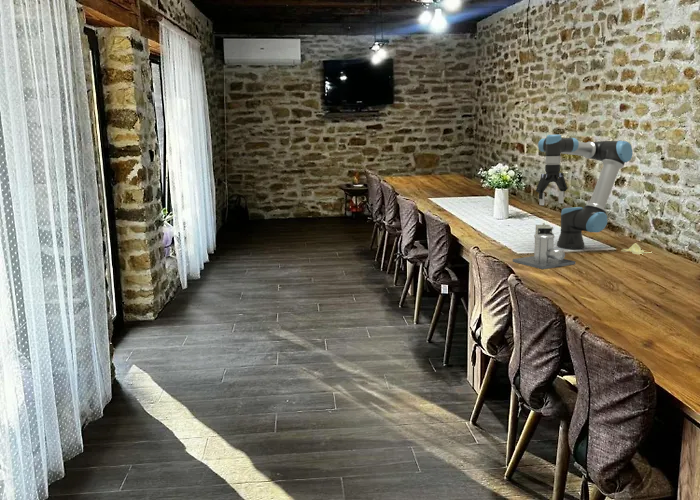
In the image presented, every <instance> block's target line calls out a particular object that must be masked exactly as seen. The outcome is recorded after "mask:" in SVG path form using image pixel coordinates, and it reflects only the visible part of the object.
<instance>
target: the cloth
mask: <svg viewBox="0 0 700 500" xmlns="http://www.w3.org/2000/svg"><path fill="white" fill-rule="evenodd" d="M641 249H642V247H640V245H639V244H637V242H636V243H633V244H632V245H631V246H630V247H628V248H622V251H625V252H630V253H631V252H632V254H634V255H640V254H642V255H641V256H644V255H643V254H647V253H652V252H653V251H651V252H644V251H645V249H642V250H641ZM652 254H653V253H652Z"/></svg>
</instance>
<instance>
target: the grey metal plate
mask: <svg viewBox="0 0 700 500" xmlns="http://www.w3.org/2000/svg"><path fill="white" fill-rule="evenodd" d="M512 262H513V263H516V264H519V263H520V265H524V266H527V267H532V268H535V269H539V270H546V269H555V268H560V267H566V266H572V265H574V266H575V265H576V261H575V260H571V259H566V258H564V259H563V260H557V259H553V261H551V262H538V261H535V260H534V255H531V256H523V257H518V258H517V257H516V258H513V259H512Z"/></svg>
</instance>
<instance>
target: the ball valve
mask: <svg viewBox="0 0 700 500" xmlns="http://www.w3.org/2000/svg"><path fill="white" fill-rule="evenodd" d="M554 228H555V227H553V226H551V225H550V224H545V223H542V224H536V225H535V234H552V235H554V236H555V234H554V233H553V230H554ZM554 243H555V242H553V244H554Z"/></svg>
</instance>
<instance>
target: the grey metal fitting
mask: <svg viewBox="0 0 700 500" xmlns="http://www.w3.org/2000/svg"><path fill="white" fill-rule="evenodd" d="M533 238H534V248H533V249H534V253H533V254H534V255H533V256H534V260H535V261H538V262H551V261H553V259H557V260H563V259H565V257H566V253H565V251H564V250H562V249H557V248H554V243H555V242H554V239H555V238H556V237H555V234H554V235H552V234H536V233H534V235H533ZM553 242H554V243H553Z"/></svg>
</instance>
